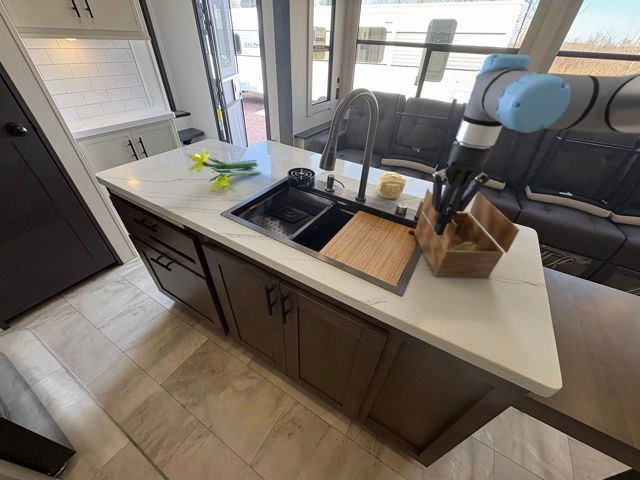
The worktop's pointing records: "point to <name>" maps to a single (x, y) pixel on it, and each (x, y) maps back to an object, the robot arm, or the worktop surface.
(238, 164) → the daffodil flowers
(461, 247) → the potato
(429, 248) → the wooden box
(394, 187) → the sculpture
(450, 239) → the flap
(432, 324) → the worktop surface
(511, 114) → the robot arm
